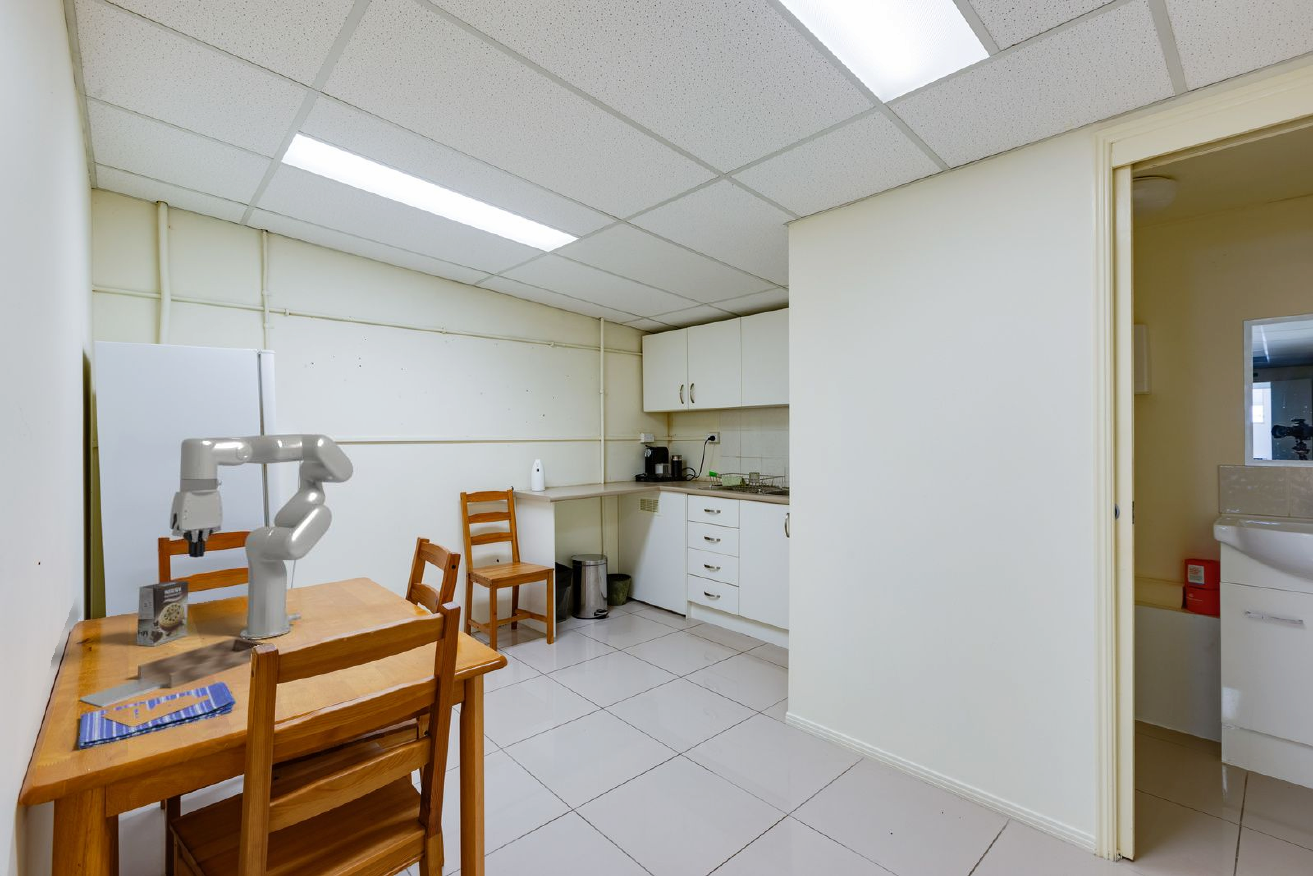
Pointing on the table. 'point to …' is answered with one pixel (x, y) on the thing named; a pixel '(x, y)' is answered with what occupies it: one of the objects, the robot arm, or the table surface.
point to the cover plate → (122, 692)
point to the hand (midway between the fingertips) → (196, 556)
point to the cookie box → (162, 613)
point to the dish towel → (106, 730)
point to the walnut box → (198, 662)
